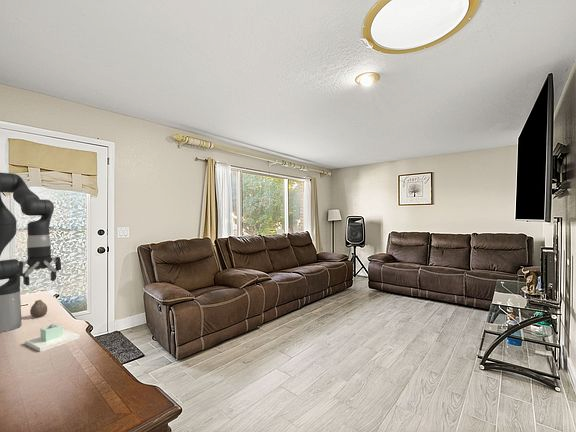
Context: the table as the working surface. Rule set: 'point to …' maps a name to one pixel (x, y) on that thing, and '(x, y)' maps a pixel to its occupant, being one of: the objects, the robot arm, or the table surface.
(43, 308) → the vase
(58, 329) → the collar
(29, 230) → the robot arm
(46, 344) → the plate
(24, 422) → the table surface
